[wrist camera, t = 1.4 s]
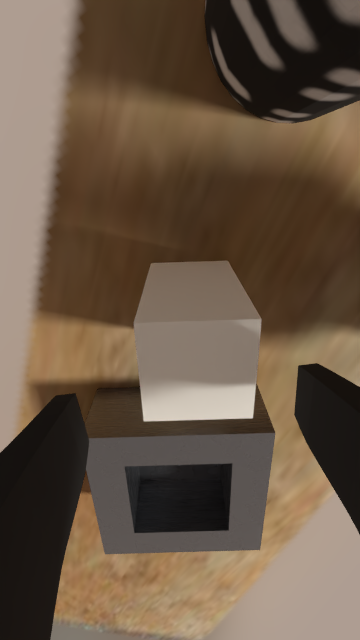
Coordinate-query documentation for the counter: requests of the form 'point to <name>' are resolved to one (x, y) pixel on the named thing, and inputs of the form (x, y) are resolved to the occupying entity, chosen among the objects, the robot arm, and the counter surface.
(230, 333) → the ivory block
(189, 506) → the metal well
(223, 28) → the spotted tube
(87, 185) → the counter surface
